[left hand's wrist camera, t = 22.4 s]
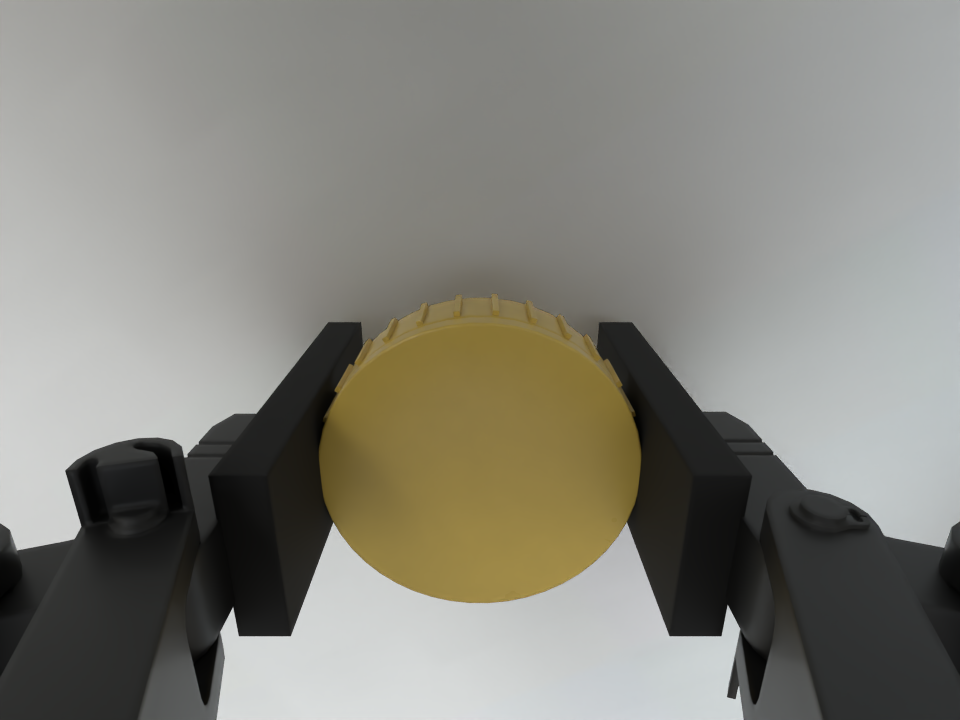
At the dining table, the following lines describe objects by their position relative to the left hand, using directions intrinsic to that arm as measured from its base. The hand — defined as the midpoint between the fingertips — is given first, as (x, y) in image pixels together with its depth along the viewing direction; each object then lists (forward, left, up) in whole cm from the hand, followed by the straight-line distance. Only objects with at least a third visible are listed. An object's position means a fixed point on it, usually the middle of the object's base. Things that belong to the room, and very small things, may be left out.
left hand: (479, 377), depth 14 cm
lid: (0, 0, +4) cm, 4 cm away
